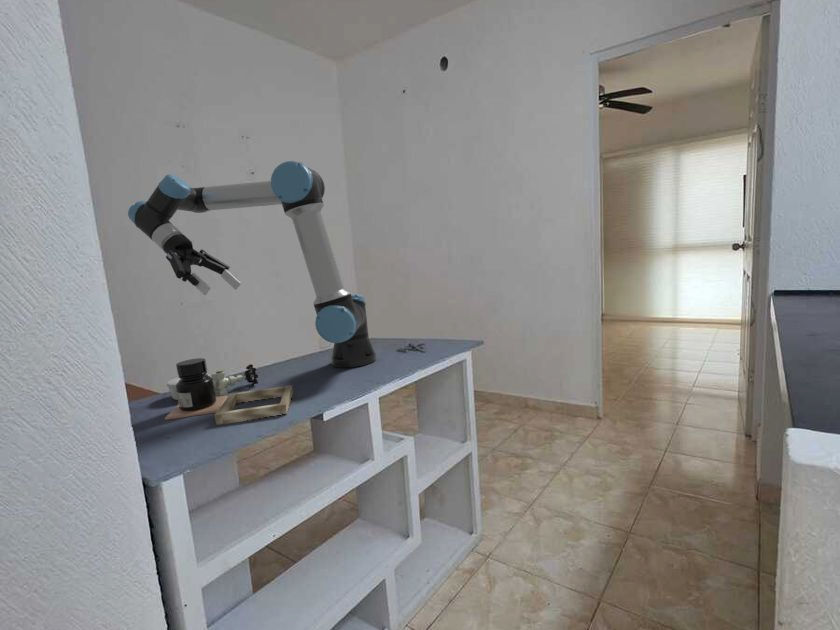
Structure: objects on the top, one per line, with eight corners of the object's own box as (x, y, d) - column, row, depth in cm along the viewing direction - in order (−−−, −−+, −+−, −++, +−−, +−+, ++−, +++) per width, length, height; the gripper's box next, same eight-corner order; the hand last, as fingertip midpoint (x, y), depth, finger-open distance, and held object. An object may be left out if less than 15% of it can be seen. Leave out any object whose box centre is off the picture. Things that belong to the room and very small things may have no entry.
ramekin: (216, 387, 133) (213, 370, 132) (207, 398, 122) (204, 380, 122) (177, 392, 131) (174, 376, 130) (163, 405, 120) (160, 386, 119)
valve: (218, 398, 121) (259, 386, 130) (214, 376, 120) (256, 365, 129) (210, 394, 126) (250, 383, 134) (206, 372, 125) (247, 362, 133)
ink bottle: (178, 405, 116) (170, 362, 115) (213, 396, 121) (206, 355, 119) (181, 415, 108) (173, 368, 107) (219, 405, 113) (212, 361, 111)
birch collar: (293, 393, 119) (291, 385, 119) (287, 414, 104) (285, 404, 104) (231, 402, 117) (230, 393, 116) (216, 425, 101) (214, 415, 101)
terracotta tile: (227, 397, 122) (227, 395, 122) (216, 412, 110) (216, 410, 110) (181, 403, 120) (181, 401, 119) (165, 419, 108) (165, 417, 108)
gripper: (197, 250, 144) (243, 293, 142) (131, 253, 120) (186, 304, 118) (208, 233, 142) (255, 275, 140) (143, 232, 118) (199, 283, 116)
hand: (223, 288), depth 129 cm, fingers open, 13 cm apart
